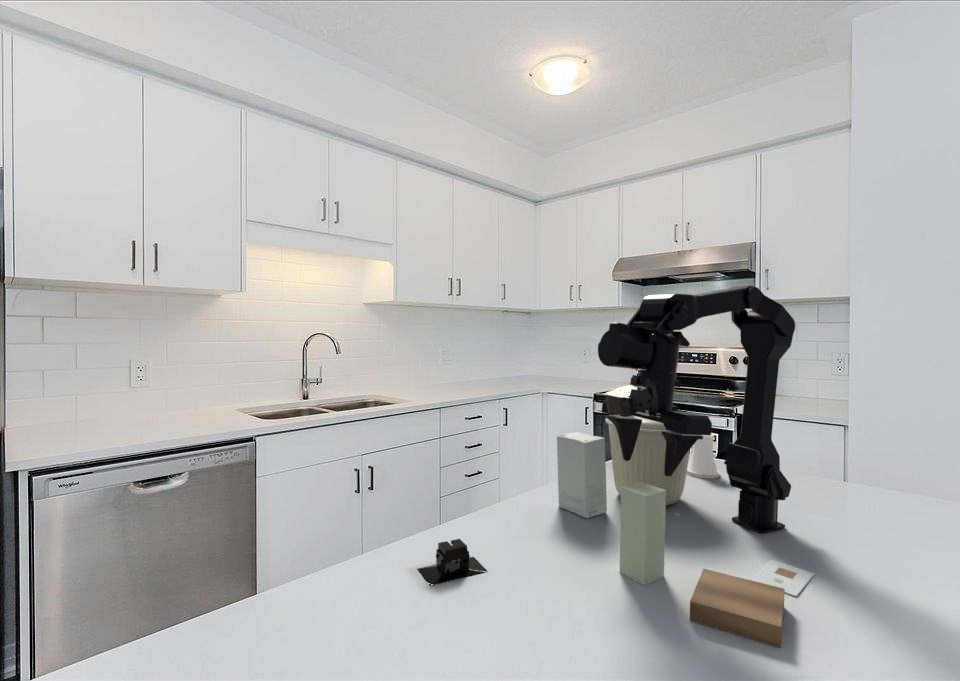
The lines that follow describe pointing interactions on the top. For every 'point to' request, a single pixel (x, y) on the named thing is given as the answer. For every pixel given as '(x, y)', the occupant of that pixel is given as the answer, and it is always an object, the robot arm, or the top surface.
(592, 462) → the skincare box
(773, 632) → the foundation slab
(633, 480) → the canister
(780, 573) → the blueprint card
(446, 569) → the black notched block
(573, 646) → the top surface
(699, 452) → the vase
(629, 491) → the pillar
